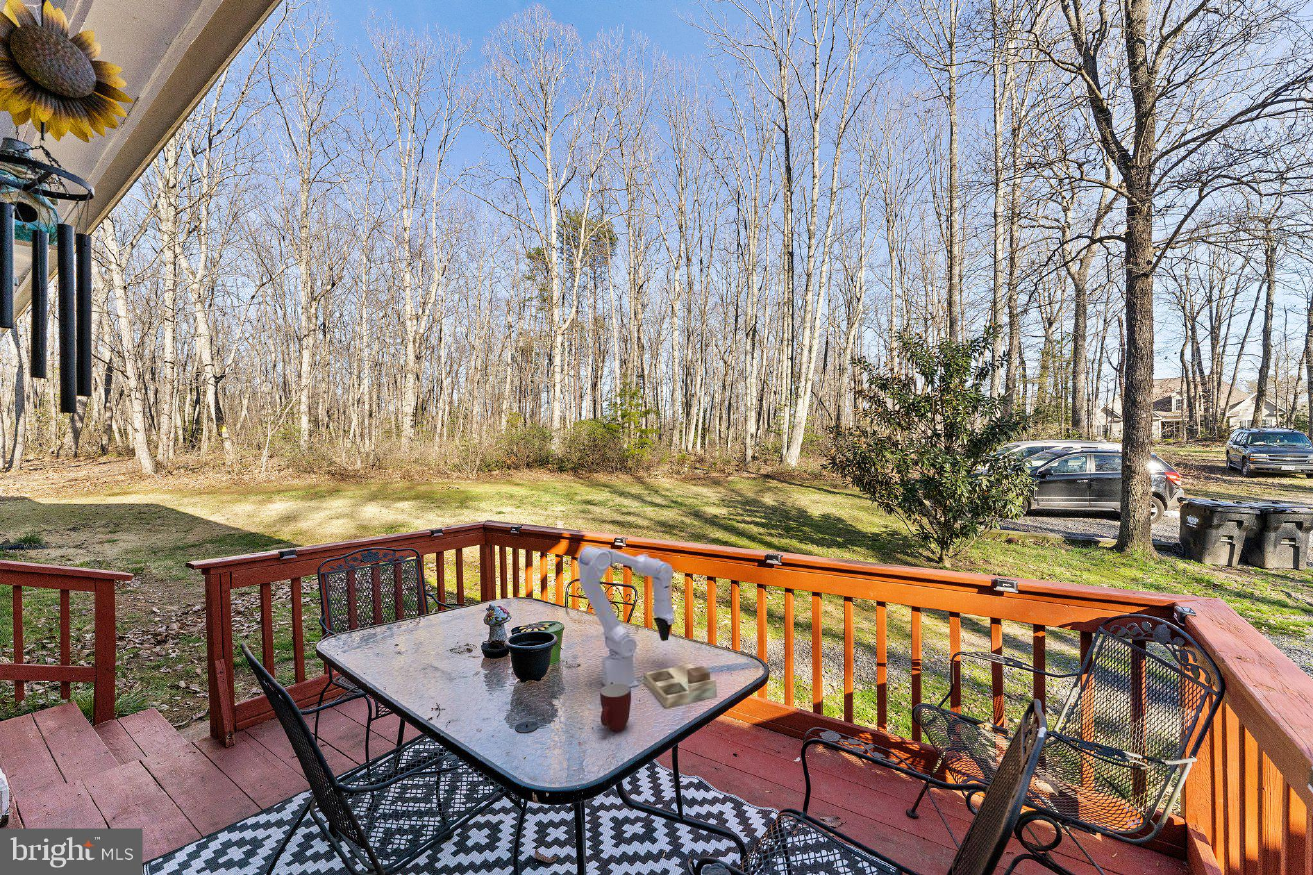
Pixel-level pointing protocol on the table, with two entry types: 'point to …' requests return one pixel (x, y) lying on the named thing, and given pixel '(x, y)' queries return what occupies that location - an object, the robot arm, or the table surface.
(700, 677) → the walnut block
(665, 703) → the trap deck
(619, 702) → the mug
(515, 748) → the table surface
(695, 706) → the table surface
